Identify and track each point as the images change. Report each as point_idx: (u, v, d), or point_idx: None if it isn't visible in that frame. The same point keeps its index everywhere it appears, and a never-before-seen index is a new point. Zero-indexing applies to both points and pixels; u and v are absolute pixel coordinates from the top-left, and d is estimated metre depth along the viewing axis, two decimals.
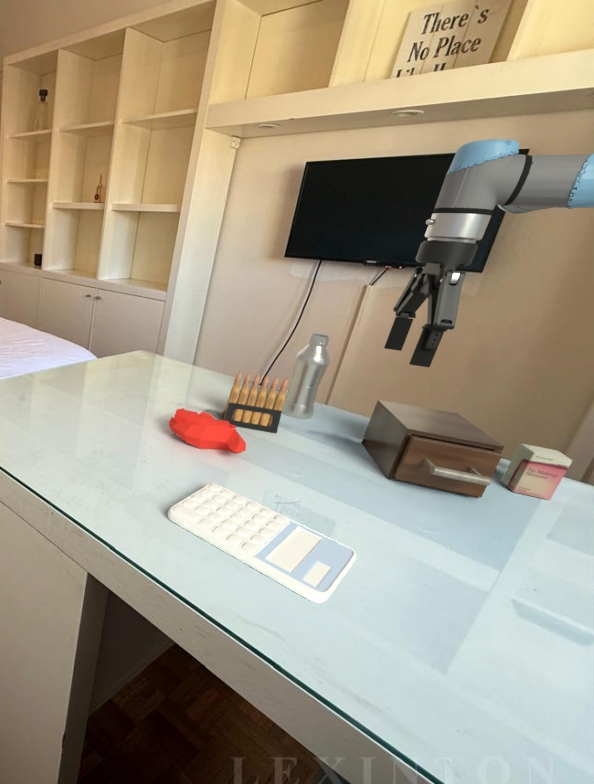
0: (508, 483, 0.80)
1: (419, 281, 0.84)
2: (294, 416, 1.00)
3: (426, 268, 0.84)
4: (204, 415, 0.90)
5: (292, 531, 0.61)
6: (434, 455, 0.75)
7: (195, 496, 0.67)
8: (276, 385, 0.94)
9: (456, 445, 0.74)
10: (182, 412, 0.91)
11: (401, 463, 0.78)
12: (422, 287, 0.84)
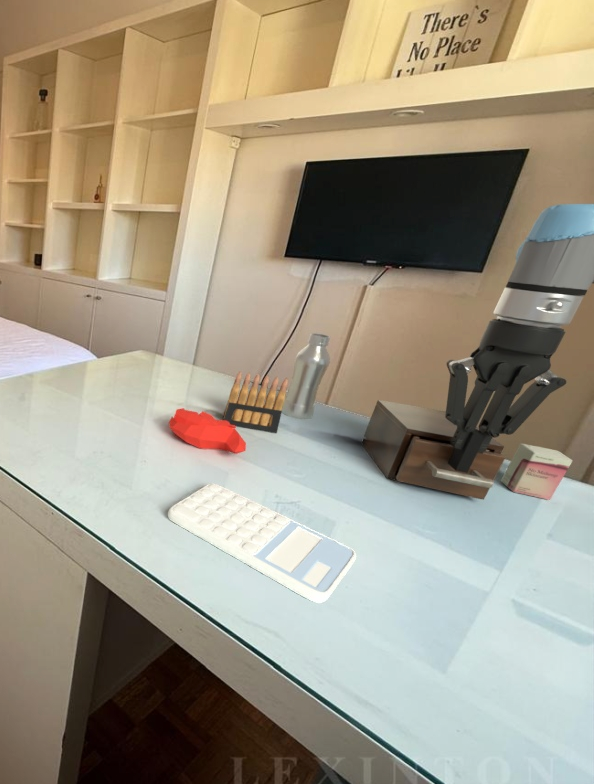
0: (508, 483, 0.80)
1: None
2: (294, 416, 1.00)
3: (491, 351, 0.66)
4: (204, 415, 0.90)
5: (292, 531, 0.61)
6: (436, 457, 0.75)
7: (195, 496, 0.67)
8: (276, 385, 0.94)
9: None
10: (182, 412, 0.91)
11: (403, 465, 0.77)
12: None
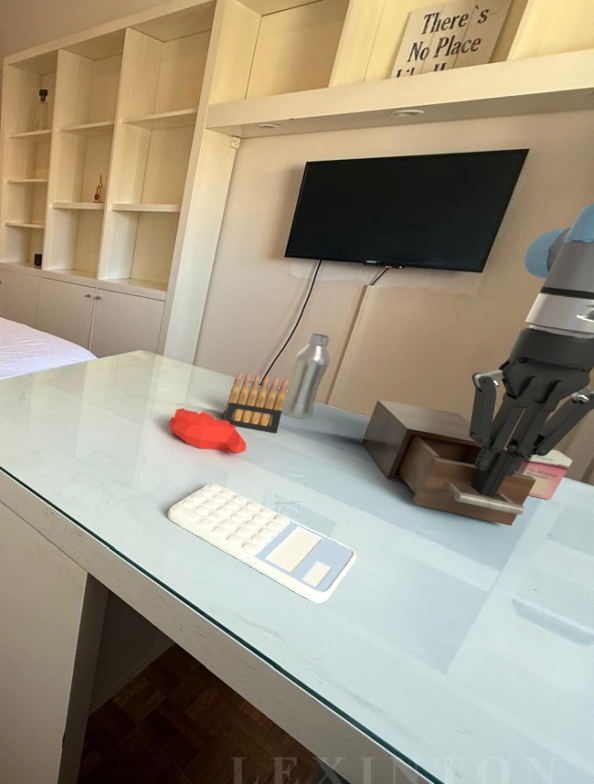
0: None
1: None
2: (294, 416, 1.00)
3: (523, 364, 0.59)
4: (204, 415, 0.90)
5: (292, 531, 0.61)
6: (458, 479, 0.68)
7: (195, 496, 0.67)
8: (276, 385, 0.94)
9: None
10: (182, 412, 0.91)
11: (421, 487, 0.71)
12: None
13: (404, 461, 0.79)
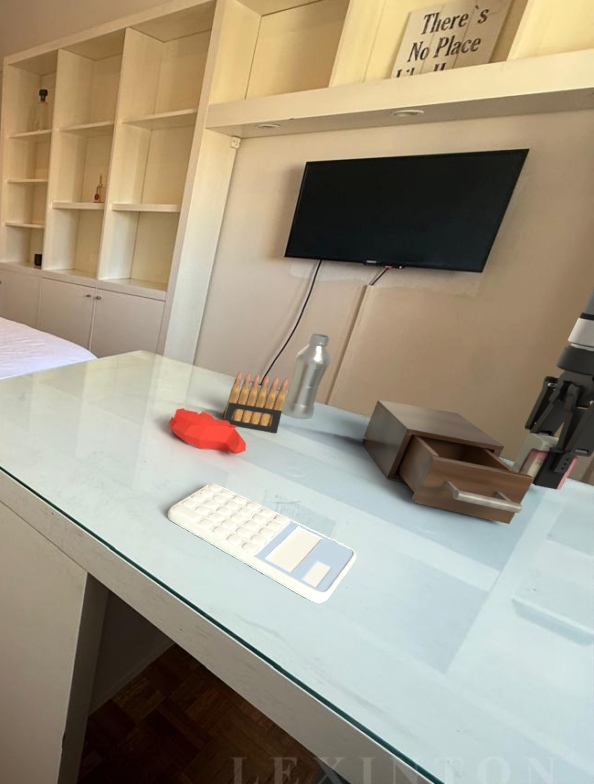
0: None
1: None
2: (294, 416, 1.00)
3: None
4: (204, 415, 0.90)
5: (292, 531, 0.61)
6: (457, 477, 0.68)
7: (195, 496, 0.67)
8: (276, 385, 0.94)
9: (482, 467, 0.67)
10: (182, 412, 0.91)
11: (420, 485, 0.71)
12: None
13: (403, 460, 0.79)
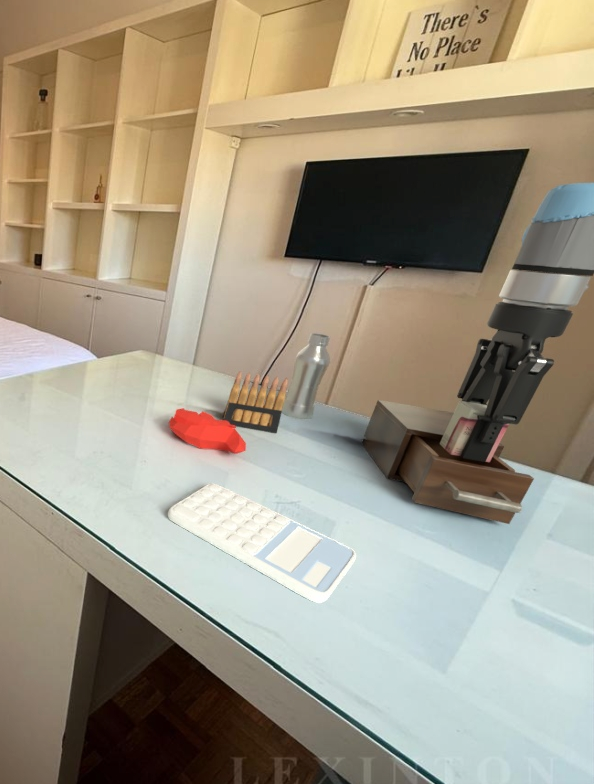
0: (446, 445, 0.72)
1: None
2: (294, 416, 1.00)
3: None
4: (204, 415, 0.90)
5: (292, 531, 0.61)
6: (457, 477, 0.68)
7: (195, 496, 0.67)
8: (276, 385, 0.94)
9: (482, 467, 0.67)
10: (182, 412, 0.91)
11: (420, 485, 0.71)
12: None
13: (403, 460, 0.79)
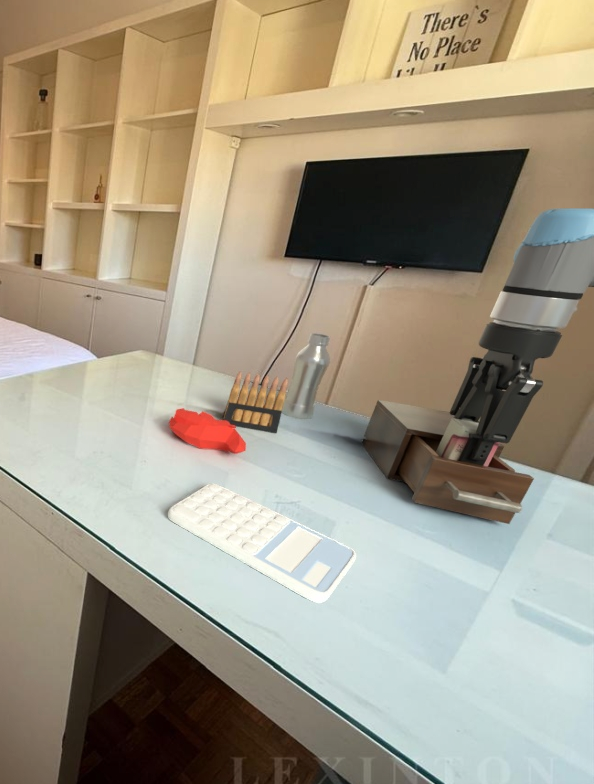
0: None
1: None
2: (294, 416, 1.00)
3: None
4: (204, 415, 0.90)
5: (292, 531, 0.61)
6: (457, 477, 0.68)
7: (195, 496, 0.67)
8: (276, 385, 0.94)
9: (482, 467, 0.67)
10: (182, 412, 0.91)
11: (420, 485, 0.71)
12: None
13: (403, 460, 0.79)
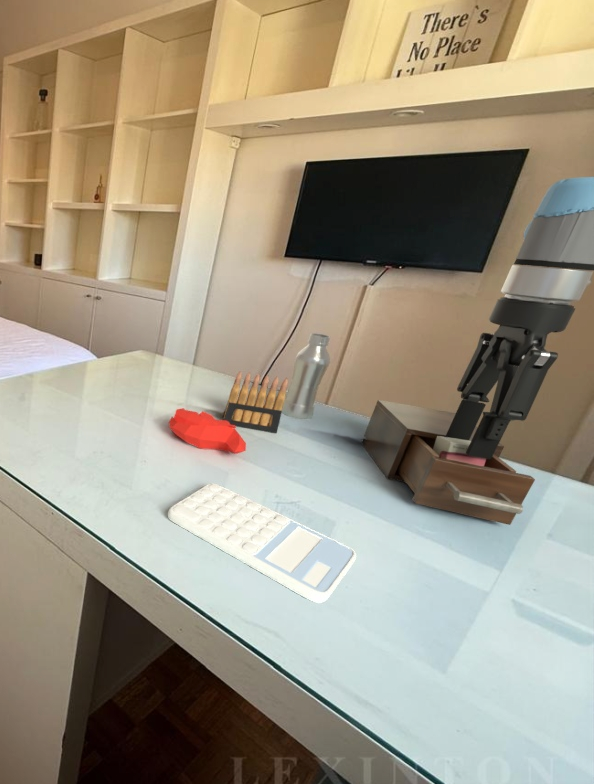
0: None
1: None
2: (294, 416, 1.00)
3: None
4: (204, 415, 0.90)
5: (292, 531, 0.61)
6: (458, 478, 0.68)
7: (195, 496, 0.67)
8: (276, 385, 0.94)
9: (482, 467, 0.67)
10: (182, 412, 0.91)
11: (420, 486, 0.71)
12: None
13: (404, 460, 0.79)
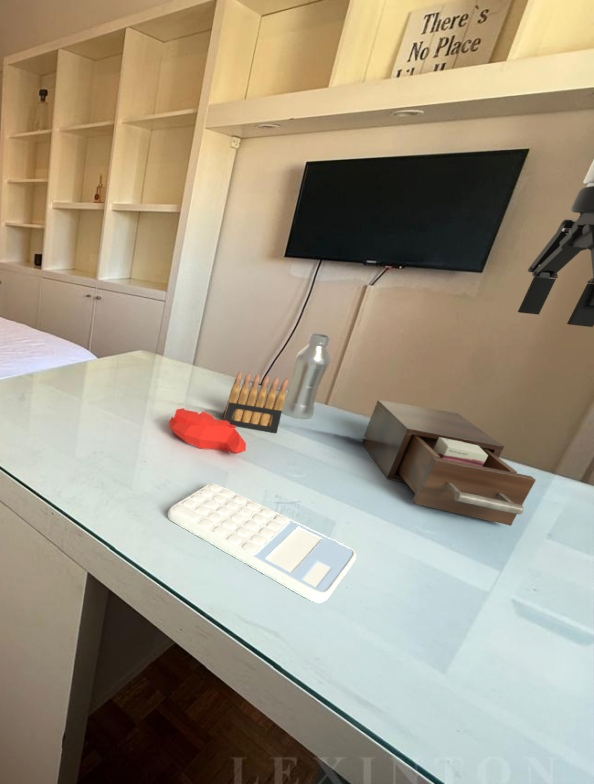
0: None
1: None
2: (294, 416, 1.00)
3: None
4: (204, 415, 0.90)
5: (292, 531, 0.61)
6: (458, 478, 0.68)
7: (195, 496, 0.67)
8: (276, 385, 0.94)
9: (483, 468, 0.67)
10: (182, 412, 0.91)
11: (421, 486, 0.71)
12: None
13: (404, 461, 0.79)
